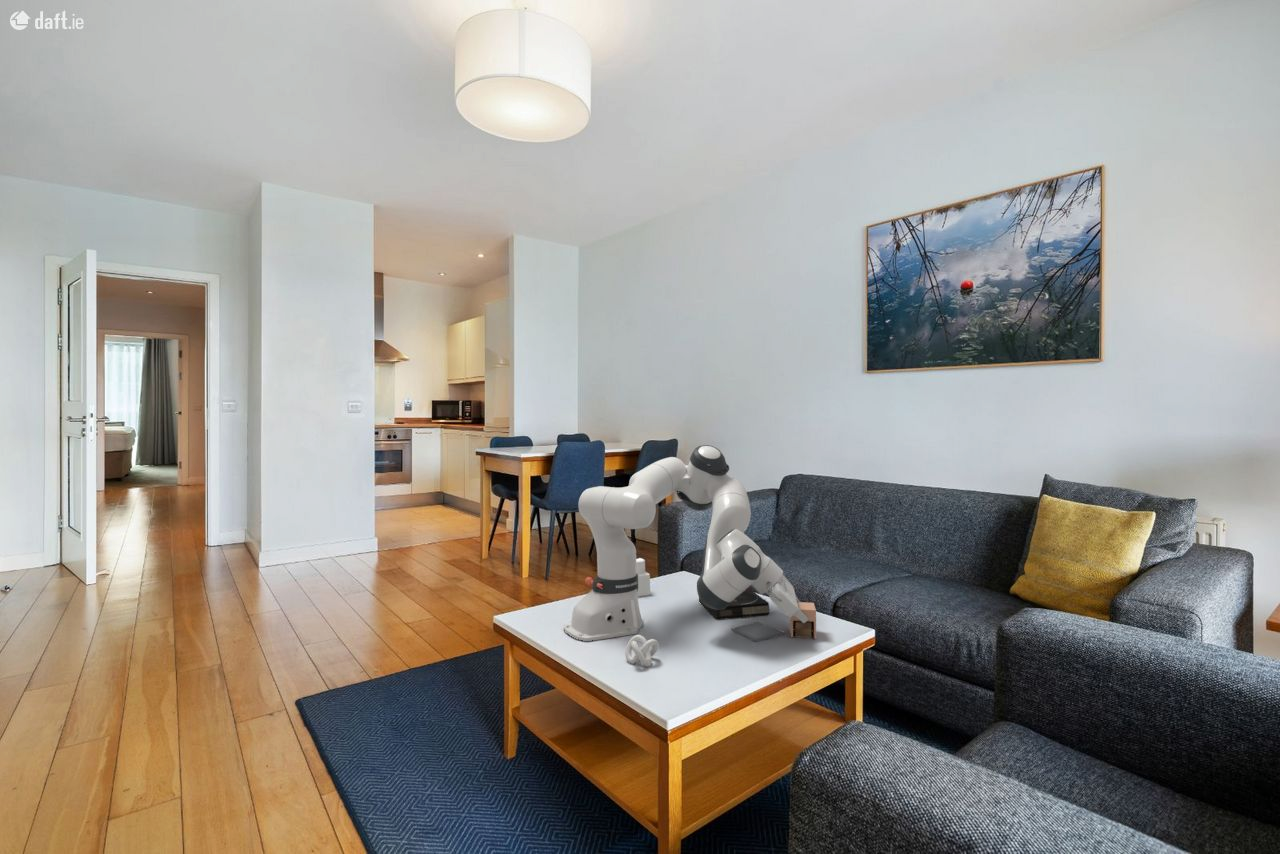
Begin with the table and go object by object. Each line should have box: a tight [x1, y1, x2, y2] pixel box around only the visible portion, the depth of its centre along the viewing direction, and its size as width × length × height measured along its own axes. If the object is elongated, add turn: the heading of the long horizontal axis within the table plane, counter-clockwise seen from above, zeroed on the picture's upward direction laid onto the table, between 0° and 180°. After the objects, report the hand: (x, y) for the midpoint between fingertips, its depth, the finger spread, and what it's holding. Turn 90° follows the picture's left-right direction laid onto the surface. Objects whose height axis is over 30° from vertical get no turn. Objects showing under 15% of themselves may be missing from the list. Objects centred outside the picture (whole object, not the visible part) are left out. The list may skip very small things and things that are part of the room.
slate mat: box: [730, 621, 785, 643], centre depth 165 cm, size 10×10×1 cm
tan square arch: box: [789, 601, 817, 640], centre depth 163 cm, size 6×6×8 cm
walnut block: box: [794, 621, 812, 638], centre depth 163 cm, size 4×4×4 cm
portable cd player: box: [698, 587, 770, 620], centre depth 185 cm, size 16×17×4 cm
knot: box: [625, 634, 659, 668], centre depth 146 cm, size 8×8×6 cm
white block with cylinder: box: [636, 556, 651, 598], centre depth 202 cm, size 7×7×12 cm
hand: (804, 615), depth 163 cm, fingers closed on tan square arch, 6 cm apart
